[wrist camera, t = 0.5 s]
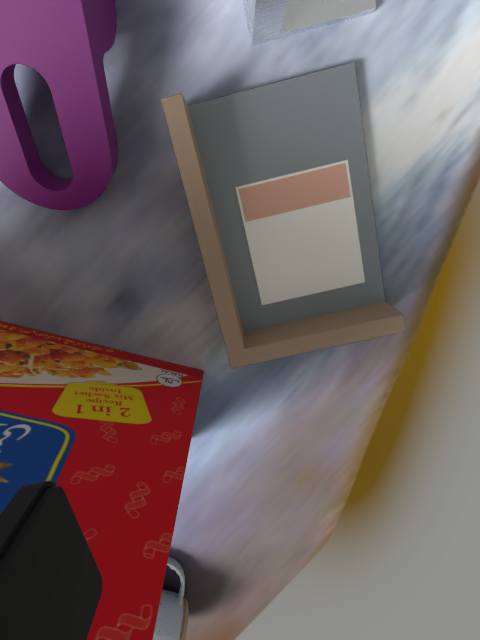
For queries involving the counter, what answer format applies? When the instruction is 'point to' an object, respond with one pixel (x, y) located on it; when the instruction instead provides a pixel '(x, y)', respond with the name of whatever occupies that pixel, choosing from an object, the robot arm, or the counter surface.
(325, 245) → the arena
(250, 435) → the counter surface
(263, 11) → the bracket
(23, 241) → the counter surface
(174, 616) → the ceramic mug
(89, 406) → the pasta box
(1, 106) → the mounting bracket
